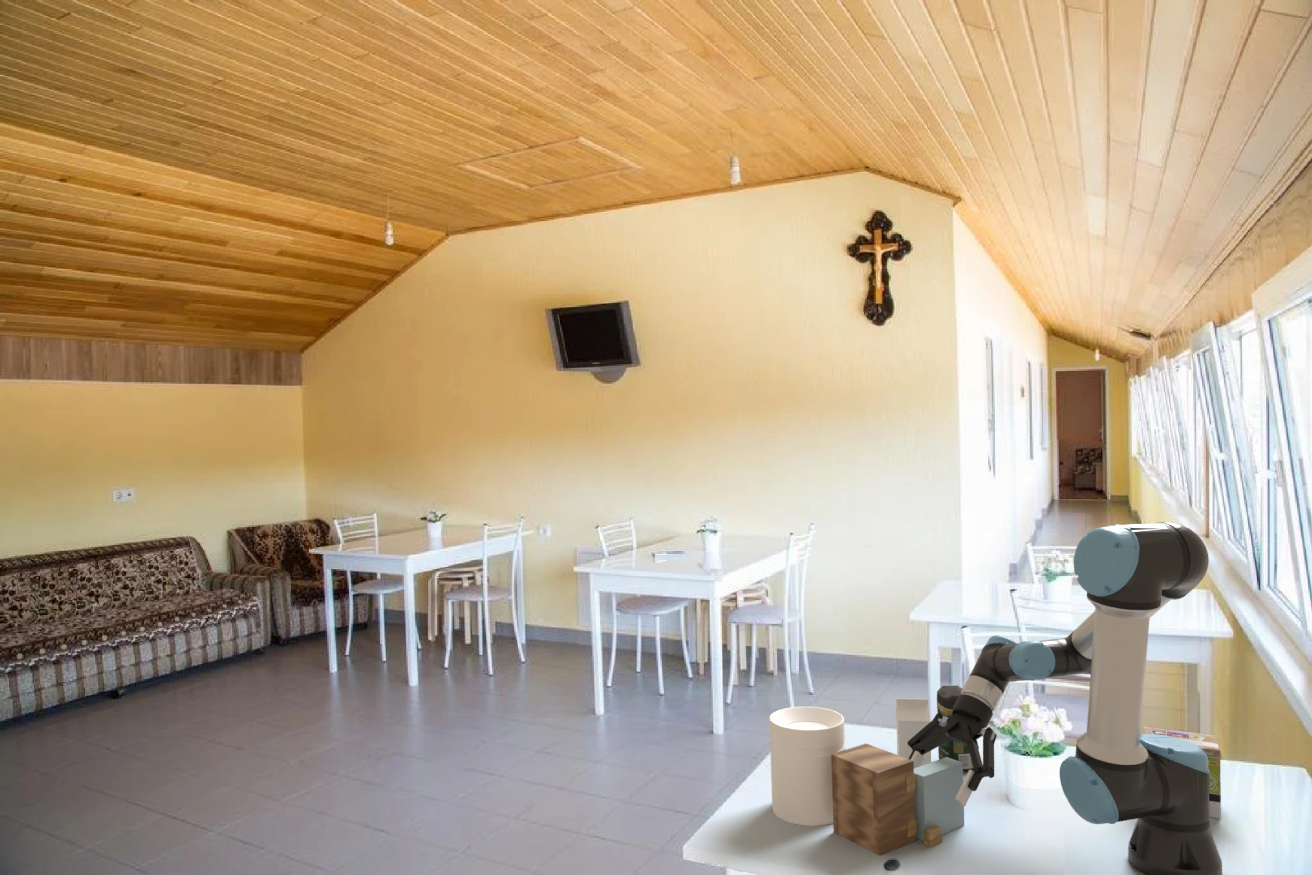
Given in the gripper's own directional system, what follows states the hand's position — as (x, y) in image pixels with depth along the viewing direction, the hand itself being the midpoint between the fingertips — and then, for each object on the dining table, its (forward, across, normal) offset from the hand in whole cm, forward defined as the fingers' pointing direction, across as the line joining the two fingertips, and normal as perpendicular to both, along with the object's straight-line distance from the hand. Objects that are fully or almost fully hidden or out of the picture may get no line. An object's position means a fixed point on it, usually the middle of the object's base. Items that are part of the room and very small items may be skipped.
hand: (932, 791), depth 188 cm
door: (+5, 0, -7) cm, 8 cm away
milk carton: (-6, +20, -18) cm, 28 cm away
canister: (+14, +23, +3) cm, 27 cm away
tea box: (-29, -24, -42) cm, 56 cm away
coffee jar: (-17, +20, -29) cm, 39 cm away
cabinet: (+12, +4, +1) cm, 13 cm away
